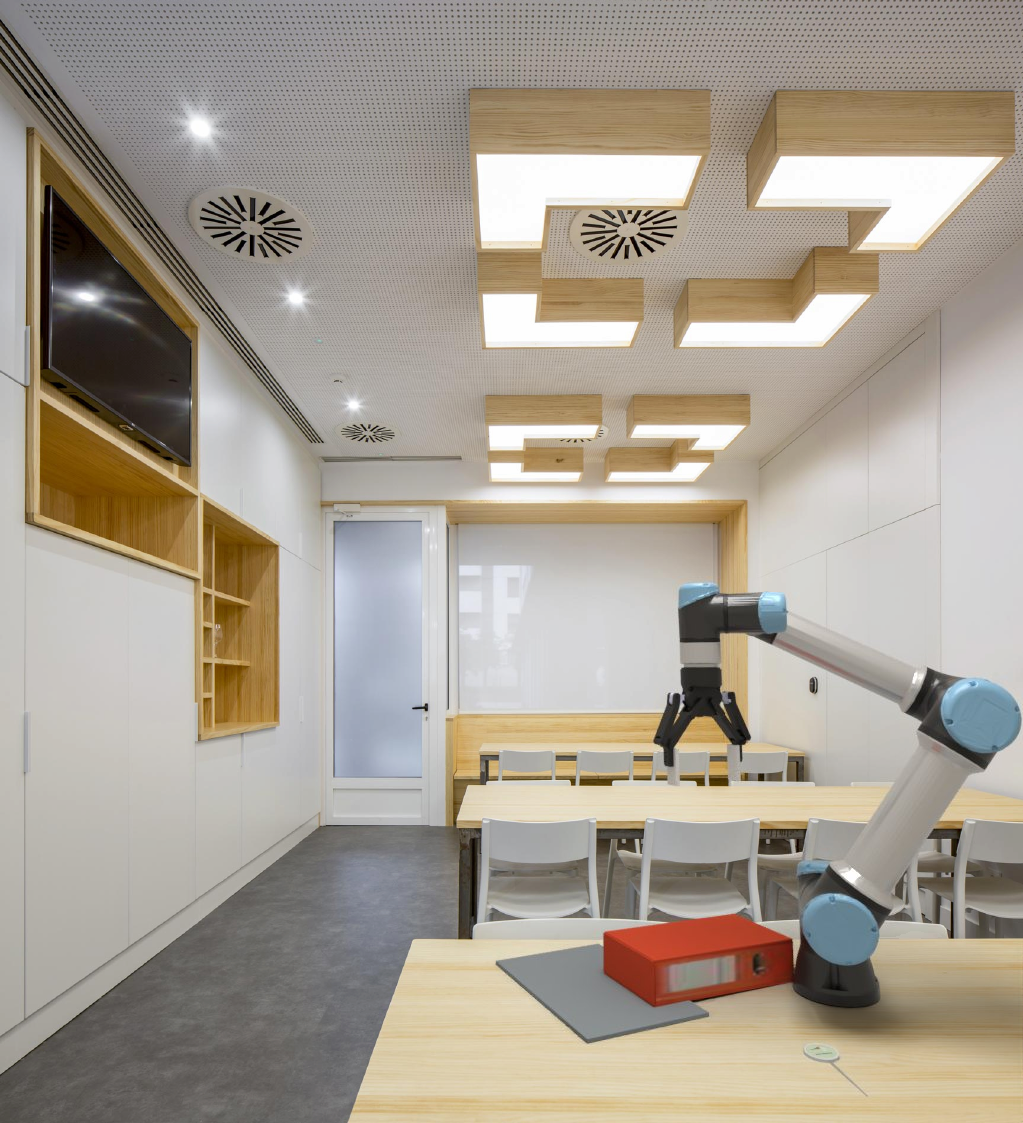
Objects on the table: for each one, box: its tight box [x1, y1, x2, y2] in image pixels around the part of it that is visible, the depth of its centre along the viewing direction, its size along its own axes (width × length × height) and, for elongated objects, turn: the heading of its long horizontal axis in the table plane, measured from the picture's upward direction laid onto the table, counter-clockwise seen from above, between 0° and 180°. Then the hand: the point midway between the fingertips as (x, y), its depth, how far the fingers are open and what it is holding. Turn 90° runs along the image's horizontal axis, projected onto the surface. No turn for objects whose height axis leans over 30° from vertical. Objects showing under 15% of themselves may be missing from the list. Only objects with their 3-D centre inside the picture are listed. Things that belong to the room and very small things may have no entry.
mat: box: [495, 943, 710, 1044], centre depth 153 cm, size 24×38×1 cm, turn 24°
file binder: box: [602, 913, 795, 1007], centre depth 157 cm, size 8×17×32 cm
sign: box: [803, 1042, 869, 1097], centre depth 122 cm, size 5×1×15 cm
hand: (704, 782), depth 149 cm, fingers open, 13 cm apart
